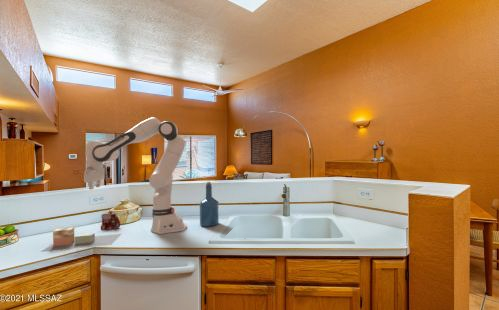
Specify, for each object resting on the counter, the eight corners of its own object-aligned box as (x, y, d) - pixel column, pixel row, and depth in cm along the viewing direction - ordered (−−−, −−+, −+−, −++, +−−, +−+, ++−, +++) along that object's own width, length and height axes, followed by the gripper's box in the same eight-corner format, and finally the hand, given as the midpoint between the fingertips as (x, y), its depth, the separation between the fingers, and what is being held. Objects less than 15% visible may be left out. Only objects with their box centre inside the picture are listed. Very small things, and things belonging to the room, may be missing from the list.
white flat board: (121, 235, 136) (121, 233, 136) (111, 246, 120) (111, 244, 120) (60, 241, 129) (60, 239, 129) (40, 253, 112) (40, 251, 112)
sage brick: (94, 239, 127) (94, 232, 127) (91, 242, 123) (91, 235, 123) (78, 241, 125) (78, 234, 125) (74, 243, 121) (74, 236, 121)
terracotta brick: (74, 241, 125) (74, 234, 125) (70, 244, 121) (70, 237, 121) (57, 243, 123) (57, 235, 123) (53, 246, 119) (53, 238, 119)
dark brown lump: (115, 231, 145) (115, 215, 145) (98, 231, 146) (97, 215, 146) (122, 227, 151) (122, 212, 151) (106, 227, 153) (105, 212, 153)
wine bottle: (203, 228, 147) (202, 183, 147) (197, 223, 159) (196, 181, 159) (222, 225, 154) (221, 182, 154) (215, 220, 166) (214, 180, 166)
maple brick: (74, 234, 125) (74, 227, 125) (70, 237, 121) (70, 229, 121) (57, 235, 123) (57, 228, 123) (53, 238, 119) (53, 231, 119)
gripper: (92, 166, 130) (93, 190, 130) (106, 165, 150) (106, 185, 150) (80, 167, 129) (80, 190, 129) (95, 165, 148) (95, 186, 148)
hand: (94, 188), depth 139 cm, fingers open, 8 cm apart
